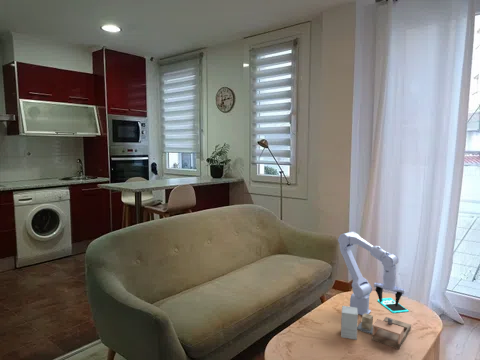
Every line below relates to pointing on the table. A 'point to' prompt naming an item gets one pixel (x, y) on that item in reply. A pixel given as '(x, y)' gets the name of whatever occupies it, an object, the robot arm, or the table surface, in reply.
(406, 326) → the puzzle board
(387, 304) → the handheld game console
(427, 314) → the table surface
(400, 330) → the slide cover
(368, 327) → the birch block
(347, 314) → the supplement box
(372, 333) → the slate mat
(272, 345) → the table surface
